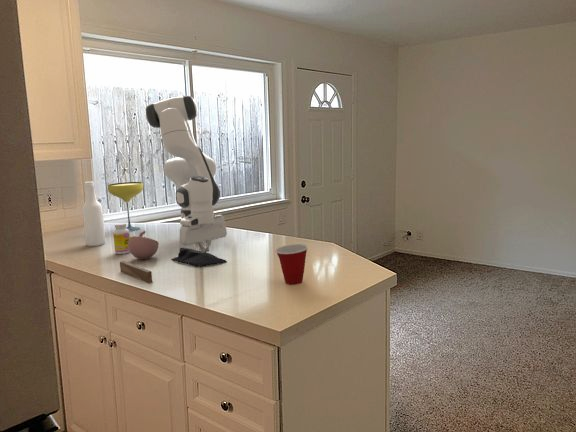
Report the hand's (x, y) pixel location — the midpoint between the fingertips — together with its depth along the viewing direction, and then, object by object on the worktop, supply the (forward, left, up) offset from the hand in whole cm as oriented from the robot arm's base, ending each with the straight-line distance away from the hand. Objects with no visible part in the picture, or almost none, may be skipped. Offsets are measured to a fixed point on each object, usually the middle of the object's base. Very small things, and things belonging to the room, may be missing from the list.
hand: (205, 251), depth 197 cm
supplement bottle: (+16, -40, -3) cm, 43 cm away
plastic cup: (-2, +49, -3) cm, 49 cm away
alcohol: (+17, -67, -3) cm, 69 cm away
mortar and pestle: (+15, -22, -3) cm, 27 cm away
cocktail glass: (-10, -88, -3) cm, 89 cm away
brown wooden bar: (+29, 0, -3) cm, 29 cm away
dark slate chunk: (+3, 0, -4) cm, 5 cm away
